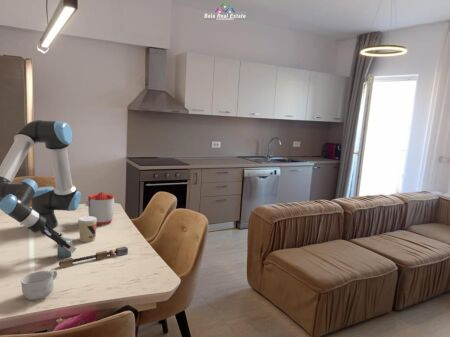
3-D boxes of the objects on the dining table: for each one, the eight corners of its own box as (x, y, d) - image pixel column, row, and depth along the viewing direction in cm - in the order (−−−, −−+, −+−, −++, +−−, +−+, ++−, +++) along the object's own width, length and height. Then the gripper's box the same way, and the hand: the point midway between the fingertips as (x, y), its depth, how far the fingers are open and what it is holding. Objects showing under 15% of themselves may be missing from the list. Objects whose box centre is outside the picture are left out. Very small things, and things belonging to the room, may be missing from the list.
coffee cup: (90, 243, 184) (90, 222, 182) (74, 241, 185) (74, 219, 183) (100, 237, 193) (100, 217, 191) (85, 235, 194) (84, 215, 192)
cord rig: (58, 266, 156) (58, 259, 156) (125, 251, 176) (125, 246, 176) (60, 268, 154) (59, 262, 154) (127, 253, 174) (127, 248, 173)
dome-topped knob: (55, 255, 167) (55, 239, 166) (69, 252, 171) (69, 237, 170) (59, 260, 162) (58, 244, 161) (73, 257, 166) (73, 241, 165)
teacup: (31, 307, 124) (30, 286, 123) (15, 297, 130) (14, 277, 129) (67, 291, 136) (66, 272, 135) (50, 283, 142) (50, 264, 140)
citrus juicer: (83, 220, 219) (83, 189, 216) (112, 217, 227) (112, 188, 224) (86, 228, 206) (86, 195, 203) (116, 225, 214) (116, 193, 210)
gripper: (22, 221, 162) (61, 247, 175) (31, 234, 147) (72, 261, 160) (35, 208, 164) (72, 235, 177) (44, 220, 149) (84, 248, 162)
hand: (72, 248), depth 168 cm, fingers closed on dome-topped knob, 6 cm apart
